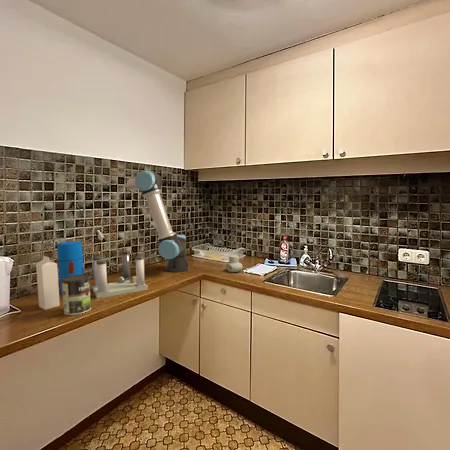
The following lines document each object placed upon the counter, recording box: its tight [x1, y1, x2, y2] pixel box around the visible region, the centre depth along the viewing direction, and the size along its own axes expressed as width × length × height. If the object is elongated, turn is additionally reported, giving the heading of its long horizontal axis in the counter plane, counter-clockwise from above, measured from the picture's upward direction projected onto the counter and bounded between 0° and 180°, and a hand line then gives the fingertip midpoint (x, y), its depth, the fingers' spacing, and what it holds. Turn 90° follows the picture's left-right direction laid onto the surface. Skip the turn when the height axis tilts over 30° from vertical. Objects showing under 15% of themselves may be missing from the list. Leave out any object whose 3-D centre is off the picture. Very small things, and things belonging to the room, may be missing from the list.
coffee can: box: [62, 274, 92, 316], centre depth 119 cm, size 10×10×14 cm
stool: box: [91, 255, 149, 299], centre depth 146 cm, size 24×16×17 cm
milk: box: [35, 255, 61, 311], centre depth 123 cm, size 6×6×22 cm
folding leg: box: [117, 250, 132, 283], centre depth 155 cm, size 11×4×15 cm, turn 177°
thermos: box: [56, 240, 85, 296], centre depth 142 cm, size 11×11×25 cm
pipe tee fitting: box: [225, 254, 243, 273], centre depth 181 cm, size 11×8×10 cm
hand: (101, 238), depth 166 cm, fingers closed
